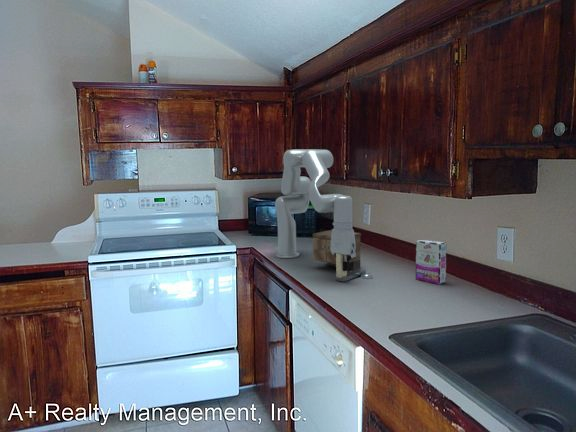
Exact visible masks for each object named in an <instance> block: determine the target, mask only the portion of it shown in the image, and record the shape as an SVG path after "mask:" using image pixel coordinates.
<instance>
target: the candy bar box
mask: <svg viewBox="0 0 576 432" xmlns="http://www.w3.org/2000/svg"><path fill="white" fill-rule="evenodd" d="M415 280H417V281H421V282H425V283H430V284H435V285H443V284H445V283H447V281H446V280H447V242H445V241H437V240H430V239H419V240H415Z"/></svg>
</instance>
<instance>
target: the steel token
mask: <svg viewBox="0 0 576 432" xmlns="http://www.w3.org/2000/svg"><path fill="white" fill-rule="evenodd" d="M373 276H374V274H373V273H372V272H366V273H362V274H361V275H360V278H361V279H364V280H370V279H373Z"/></svg>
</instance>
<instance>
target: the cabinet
mask: <svg viewBox="0 0 576 432" xmlns="http://www.w3.org/2000/svg"><path fill="white" fill-rule="evenodd" d="M331 233H332V229H330V230H325V231H324V230H323V231H319V232H315V233H312V255H313V256H312V257H313V259H312V260H314V261H317V262H318V261H319V262H322V263H326V265H327V266H333V267H336V257H335V256H334V255H333V254H332V253H331V250H330V243H331ZM354 235H355V245H356V249H355V253H356V257H353V258H352V259H351V260H350V261H349V270H350V271H353V270H356V269H361V236H362V233H361V232H355V231H354ZM347 257H348V256H347Z"/></svg>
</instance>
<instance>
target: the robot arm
mask: <svg viewBox="0 0 576 432" xmlns="http://www.w3.org/2000/svg"><path fill="white" fill-rule="evenodd" d="M282 162H283V163H282V164H283V172H282V178H281V185H280V191H281V193H282V194H283V196H279V197H277V198H276V199H275V202H274V207H275V212H276V213H275V214H276V220H277V246H275V247H274V251H276V253H275V257H276V258H280V259H294V258H298V257H300V252H298V251H297V224H296V222H297V221H296V220H295V219H294V217H293V216H292V215H294V214H296V215H297V214H302V213H305V212H307V210H308V208H309V205H310V203H311V206H312V207H313V209H314V211H315V212H317V213H319V214H323V213H324V214H327V213H333V222H332V226H333V228H332V229H331V230H332V233H331V243H330V250H331V253H332V254H333V255H334V256H335V257H336V253H340V254H343V255H344V262H343V271H347V272H349V271H350V269H349V261H350V260H351V259H352V258H353V257H356V253H355V249H356V245H355V235H354V232H355V230H354V229H353V198H352V197H351V196H350V195H344V194H342V193H329V194H321V193H320V191H319V189H318V188H319V187H321V186H323V185H324V184H325V183H327V182H328V181H329V179H330V176H331V175H330V172H329V170H328V168H331V167H332V166H333V165H334V156H333V154H332V152H331V151H330V150H328V149H316V148H315V149H314V148H312V149H307V148H306V149H304V148H302V149H299V148H297V149H287V150H286V151H285V152H284V153H283V157H282ZM301 168H305V170H306V173H307V174H308V176H309V177H307V176H301V174H302V172H301V171H302V170H301ZM347 256H348V257H347Z"/></svg>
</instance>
